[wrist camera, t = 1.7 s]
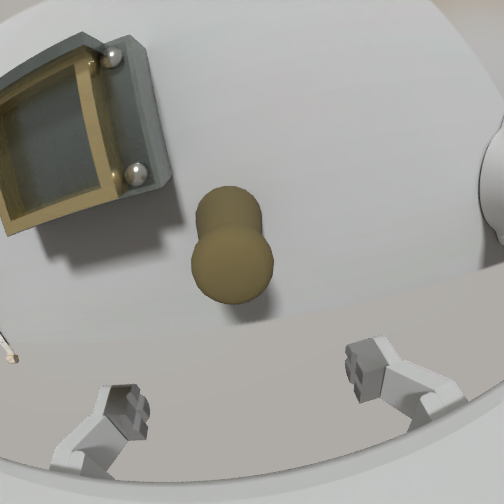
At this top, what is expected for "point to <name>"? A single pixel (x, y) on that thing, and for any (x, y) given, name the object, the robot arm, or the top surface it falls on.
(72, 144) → the grey wooden box
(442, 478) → the robot arm
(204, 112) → the top surface
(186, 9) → the top surface
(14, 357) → the toy measuring tape
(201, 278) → the cork
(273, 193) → the top surface
